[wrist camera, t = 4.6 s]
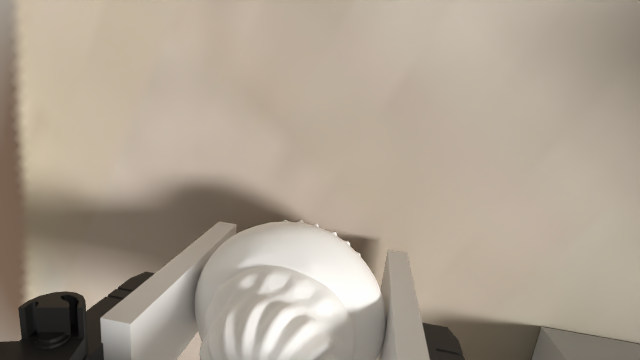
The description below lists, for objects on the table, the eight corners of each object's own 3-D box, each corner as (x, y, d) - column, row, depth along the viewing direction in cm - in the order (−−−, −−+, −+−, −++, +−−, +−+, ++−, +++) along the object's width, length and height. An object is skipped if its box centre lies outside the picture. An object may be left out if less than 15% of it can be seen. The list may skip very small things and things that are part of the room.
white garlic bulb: (266, 168, 14) (164, 231, 7) (410, 231, 14) (443, 360, 7) (218, 294, 16) (99, 442, 9) (346, 353, 15) (323, 554, 9)
